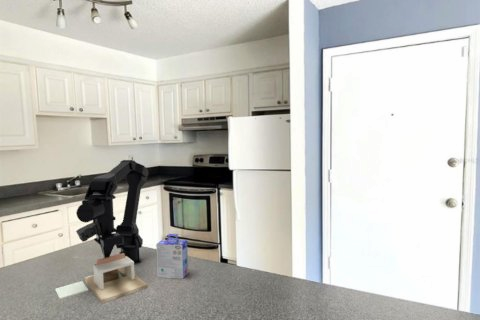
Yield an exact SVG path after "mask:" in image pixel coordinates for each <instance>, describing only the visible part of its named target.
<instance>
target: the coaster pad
mask: <svg viewBox="0 0 480 320" xmlns="http://www.w3.org/2000/svg"><path fill="white" fill-rule="evenodd" d="M54 292H55V293H56V295H57V296H58V300H63V299H67V298H69V297H73V296H76V295H80V294H83V293H86V292H89V289H88V287H87V286H86V285H85V283H84V282H83V280H81V281H77V282H74V283H70V284H67V285H64V286H60V287H57V288H54Z"/></svg>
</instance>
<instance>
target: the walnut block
mask: <svg viewBox="0 0 480 320" xmlns="http://www.w3.org/2000/svg"><path fill="white" fill-rule="evenodd" d="M118 278H119V273H118V269H115V270H112V271H108V272H105V273H103V281H104V282H109V281H112V280H115V279H118Z"/></svg>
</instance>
